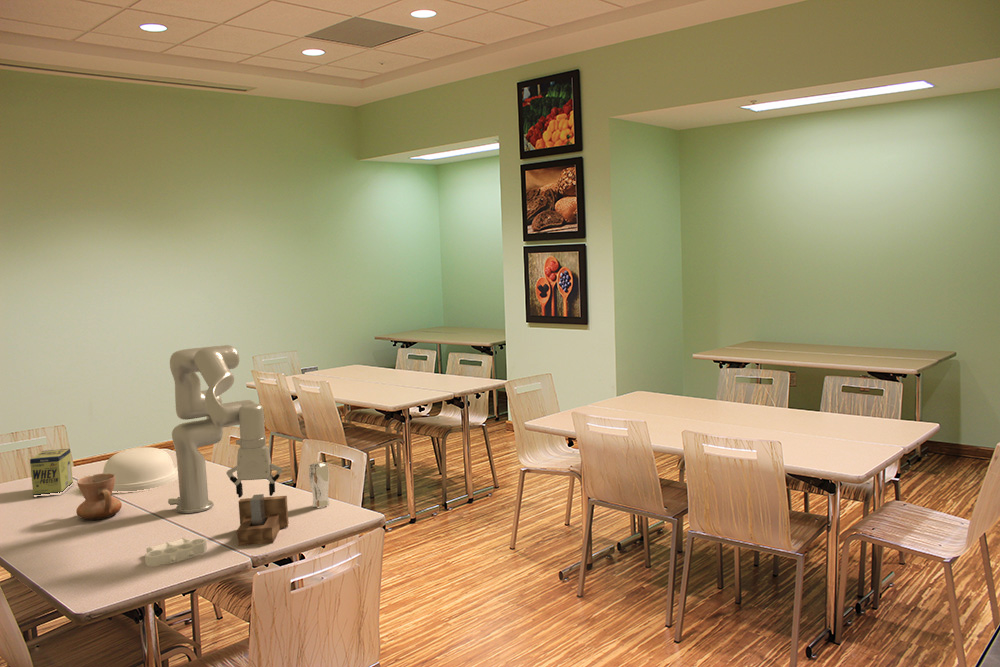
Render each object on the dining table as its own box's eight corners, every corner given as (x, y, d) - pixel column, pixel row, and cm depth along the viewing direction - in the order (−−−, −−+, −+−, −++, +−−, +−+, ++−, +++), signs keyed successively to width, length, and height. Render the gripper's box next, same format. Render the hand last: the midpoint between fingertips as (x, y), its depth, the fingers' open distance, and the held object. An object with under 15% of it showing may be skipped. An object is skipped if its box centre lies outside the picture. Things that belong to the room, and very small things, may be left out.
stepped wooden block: (230, 546, 244) (228, 515, 244) (242, 528, 261) (240, 498, 260) (280, 542, 246) (278, 511, 245) (288, 524, 263) (286, 495, 262)
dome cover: (167, 469, 346) (164, 437, 344) (192, 481, 323) (189, 448, 322) (87, 485, 325) (84, 451, 323) (108, 499, 302) (105, 463, 301)
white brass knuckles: (194, 542, 250) (214, 554, 240) (135, 559, 238) (153, 572, 227) (193, 532, 250) (213, 543, 239) (135, 548, 238) (152, 560, 227)
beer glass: (334, 503, 285) (332, 462, 283) (324, 509, 278) (321, 467, 277) (317, 502, 287) (315, 461, 286) (307, 508, 280) (304, 466, 279)
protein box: (33, 498, 308) (29, 459, 306) (45, 487, 323) (42, 450, 321) (62, 495, 310) (58, 456, 309) (73, 484, 325) (70, 448, 324)
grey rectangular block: (252, 537, 249) (250, 500, 248) (256, 530, 255) (254, 494, 254) (262, 536, 249) (259, 499, 248) (266, 530, 255) (263, 494, 254)
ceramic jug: (70, 516, 282) (66, 478, 280) (112, 506, 292) (109, 469, 290) (87, 528, 269) (83, 488, 267) (131, 517, 279) (127, 478, 278)
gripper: (222, 447, 245) (225, 500, 247) (279, 444, 247) (281, 497, 249) (227, 441, 252) (230, 493, 254) (282, 439, 254) (285, 490, 256)
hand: (256, 495), depth 251 cm, fingers open, 9 cm apart
